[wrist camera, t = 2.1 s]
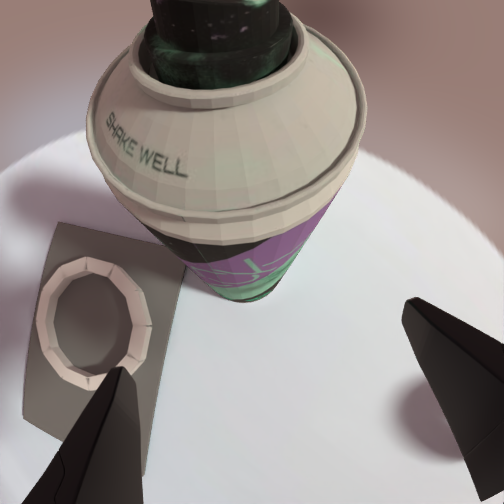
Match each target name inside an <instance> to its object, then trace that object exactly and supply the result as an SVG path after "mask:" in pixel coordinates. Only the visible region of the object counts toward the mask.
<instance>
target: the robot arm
mask: <svg viewBox="0 0 504 504" xmlns="http://www.w3.org/2000/svg"><path fill="white" fill-rule="evenodd" d="M402 325H403V327H404V329H405V332H406V334H407V336H408V339H409V341H410V344H411V346H412V349H413V351H414V354H415V356H416V358H417V361H418V363H419V365H420V367H421V369H422V371H423V373H424V375H425V377H426V378H427V380H428V382H429V384H430V386H431V388H432V390H433V392H434V394H435V396H436V398H437V400H438V402H439V404H440V406H441V409H442V411H443V413H444V415H445V417H446V419H447V421H448V423H449V426H450V428H451V430H452V432H453V434H454V437H455V439H456V441H457V443H458V446H459V448H460V450H461V453H462V455H463V457H464V460H465V463H466V465H467V468H468V470H469V472H470V475H471V478H472V480H473V483H474V485H475V488H476V491H477V493H478V496H479V499H480V501H481V502H482V501H484V500H486V499H488V498H490V497H492V496H494V495H496V494H498V493H500V492H502V491H503V490H504V344H503V343H501V342H499V341H498V340H496V339H494V338H492V337H490V336H489V335H487V334H485V333H483V332H482V331H480V330H478V329H476V328H474V327H473V326H471V325H469V324H467V323H465V322H463V321H462V320H460V319H458V318H456V317H454V316H452V315H451V314H449V313H447V312H445V311H443V310H441V309H439V308H438V307H436V306H434V305H432V304H430V303H428V302H426V301H424V300H423V299H421V298H419V297H414V298H411V299H408V300H406V302H405V305H404V309H403V314H402ZM22 504H143V489H142V467H141V426H140V416H139V407H138V396H137V386H136V382H135V380H134V379H133V377H132V376H131V375H130V373H129V372H128V371H127V369H126V368H125V367H124V366H117V367H112V368H111V369H110V370H109V372H108V373H107V375H106V376H105V378H104V379H103V381H102V382H101V384H100V385H99V387H98V388H97V390H96V391H95V393H94V394H93V396H92V397H91V399H90V401H89V402H88V404H87V405H86V407H85V408H84V410H83V411H82V413H81V414H80V416H79V418H78V419H77V421H76V422H75V424H74V426H73V427H72V429H71V430H70V432H69V433H68V435H67V437H66V438H65V440H64V442H63V443H62V445H61V446H60V448H59V451H57V453H56V455H55V456H54V458H53V459H52V461H51V463H50V464H49V466H48V467H47V469H46V471H45V472H44V473H43V475H42V476H41V478H40V479H39V480H38V482H37V483H36V485H35V486H34V487H33V489H32V490H31V491H30V493H29V494H28V495H27V497H26V498H25V500H24V501H23V502H22ZM503 504H504V503H503Z"/></svg>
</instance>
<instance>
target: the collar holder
mask: <svg viewBox="0 0 504 504" xmlns="http://www.w3.org/2000/svg"><path fill="white" fill-rule="evenodd" d="M185 267H186V264H184V263H183V262H182V261H181V260H180V259H179V258H178V257H177V256H176V255H175V254H174V253H173V252H171V251H170V250H169V249H168V248H167V247H166V246H163V245H158V244H154V243H149V242H145V241H140V240H136V239H132V238H127V237H123V236H118V235H114V234H110V233H105V232H101V231H97V230H92V229H88V228H84V227H79V226H75V225H71V224H66V223H62V222H58V224H57V227H56V230H55V233H54V236H53V240H52V243H51V246H50V250H49V253H48V257H47V261H46V264H45V268H44V272H43V276H42V280H41V285H40V289H39V293H38V298H37V303H36V308H35V313H34V318H33V324H32V330H31V337H30V343H29V351H28V359H27V368H26V379H25V392H24V414H23V419H25V420H26V421H28V422H29V423H31V424H33V425H34V426H36V427H38V428H39V429H41V430H43V431H44V432H46V433H48V434H50V435H51V436H53V437H55V438H57V439H59V440H61V441H62V442H64V440H65V438H66V437H67V435H68V433H69V432H70V430H71V429H72V427H73V426H74V424H75V422H76V421H77V419H78V418H79V416H80V414H81V413H82V411H83V410H84V408H85V407H86V405H87V404H88V402H89V401H90V399H91V397H92V396H93V394H94V393H95V391H96V390H97V388H98V387H99V385H100V384H101V382H102V381H103V379H104V378H105V376H106V375H107V373H108V372H109V370H110V369H111V368H112V367H117V366H124V367H125V368H126V369H127V371H128V372H129V373H130V375H131V376H132V377H133V379H134V380H135V382H136V386H137V396H138V407H139V416H140V426H141V467H142V477H143V476H144V474H145V467H146V460H147V453H148V447H149V441H150V434H151V428H152V422H153V417H154V411H155V405H156V400H157V395H158V389H159V384H160V379H161V374H162V369H163V364H164V359H165V354H166V349H167V345H168V340H169V335H170V331H171V326H172V322H173V317H174V313H175V309H176V304H177V300H178V296H179V292H180V288H181V284H182V279H183V275H184V271H185Z"/></svg>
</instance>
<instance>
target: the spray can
mask: <svg viewBox="0 0 504 504" xmlns="http://www.w3.org/2000/svg"><path fill="white" fill-rule="evenodd" d="M150 2H151V7H152V11H153V17H152V18H151V19H150V21H149V23H148V24H147V25H145V26H144V27H143V28H142V29H141V31H140V32H139V33H138V34H137V36H136V37H135V39H134V40H133V42H132V44H131V45H130V46H128V47H127V48H126V49H125V50H124V51H123V52H122V53H121V54H120V55H119V56H118V57H117V58H116V59H115V60H114V61H113V62H112V63H111V64H110V65H109V67H108V68H107V69H106V71H105V72H104V74H103V75H102V76H101V78H100V79H99V81H98V83H97V85H96V87H95V90H94V92H93V94H92V96H91V98H90V102H89V107H88V111H87V116H86V139H87V142H88V146H89V149H90V152H91V156H92V159H93V160H94V162H95V164H96V165H97V167H98V168H99V170H100V171H101V173H102V174H103V176H104V179H105V182H106V183H107V185H108V186H109V188H110V189H111V191H112V192H113V194H114V195H115V197H116V198H117V199H118V201H119V202H120V203H121V204H122V205H123V206H124V207H125V208H126V209H127V210H128V211H129V212H130V213H131V214H132V215H134V216H135V217H136V218H137V219H138V220H139V221H140V222H141V223H142V224H143V225H144V226H145V227H146V228H147V229H148V230H149V231H150V232H151V233H152V234H153V235H154V236H155V237H156V238H158V239H159V240H160V241H161V242H162V243H163V244H164V245H165V246H166V247H167V248H168V249H169V250H170V251H171V252H173V253H174V254H175V255H176V256H177V257H178V258H179V259H180V260H181V261H182V262H183V263H184V264H186V265H187V266H188V267H189V268H190V269H191V270H192V271H193V272H194V273H195V274H197V275H198V276H199V277H200V278H201V279H202V280H203V281H204V282H205V283H207V284H208V285H209V286H210V287H211V288H212V289H213V290H214V291H216V292H217V293H218V294H219V295H221V296H222V297H224V298H226V299H228V300H230V301H234V302H239V303H248V302H254V301H257V300H260V299H262V298H263V297H265V296H267V295H268V294H269V293H270V292H272V291H273V289H274V288H275V287H276V286H277V284H278V283H279V281H280V280H281V278H282V277H283V275H284V274H285V272H286V271H287V270H288V268H289V267H290V265H291V264H292V262H293V261H294V259H295V258H296V256H297V255H298V253H299V252H300V250H301V248H302V247H303V245H304V244H305V242H306V241H307V239H308V238H309V236H310V235H311V233H312V232H313V230H314V229H315V227H316V226H317V224H318V222H319V221H320V219H321V218H322V216H323V215H324V213H325V212H326V210H327V209H328V207H329V205H330V204H331V202H332V201H333V199H334V198H335V196H336V194H337V193H338V191H339V190H340V188H341V186H342V185H343V183H344V182H345V180H346V178H347V177H348V175H349V173H350V171H351V168H352V166H353V163H354V161H355V159H356V156H357V154H358V147H359V142H360V140H361V137H362V135H363V132H364V130H365V124H366V115H367V103H366V96H365V90H364V87H363V84H362V82H361V80H360V78H359V75H358V73H357V70H356V69H355V67H354V66H353V65H352V63H351V62H350V60H349V59H348V58H347V56H346V55H345V54H344V53H343V52H342V51H341V50H340V49H339V48H338V47H337V46H336V45H335V44H334V43H333V42H331V41H330V40H329V39H328V38H326V37H325V36H323V35H322V34H320V33H319V32H317V31H315V30H314V29H312V28H311V27H308V26H306V25H304V24H302V23H301V22H300V20H299V19H298V18H297V17H295V16H294V15H293V14H292V13H290V12H289V11H288V10H287V8H286V7H285V6H284V5H283V4H281V3H280V2H279V0H150Z"/></svg>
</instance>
